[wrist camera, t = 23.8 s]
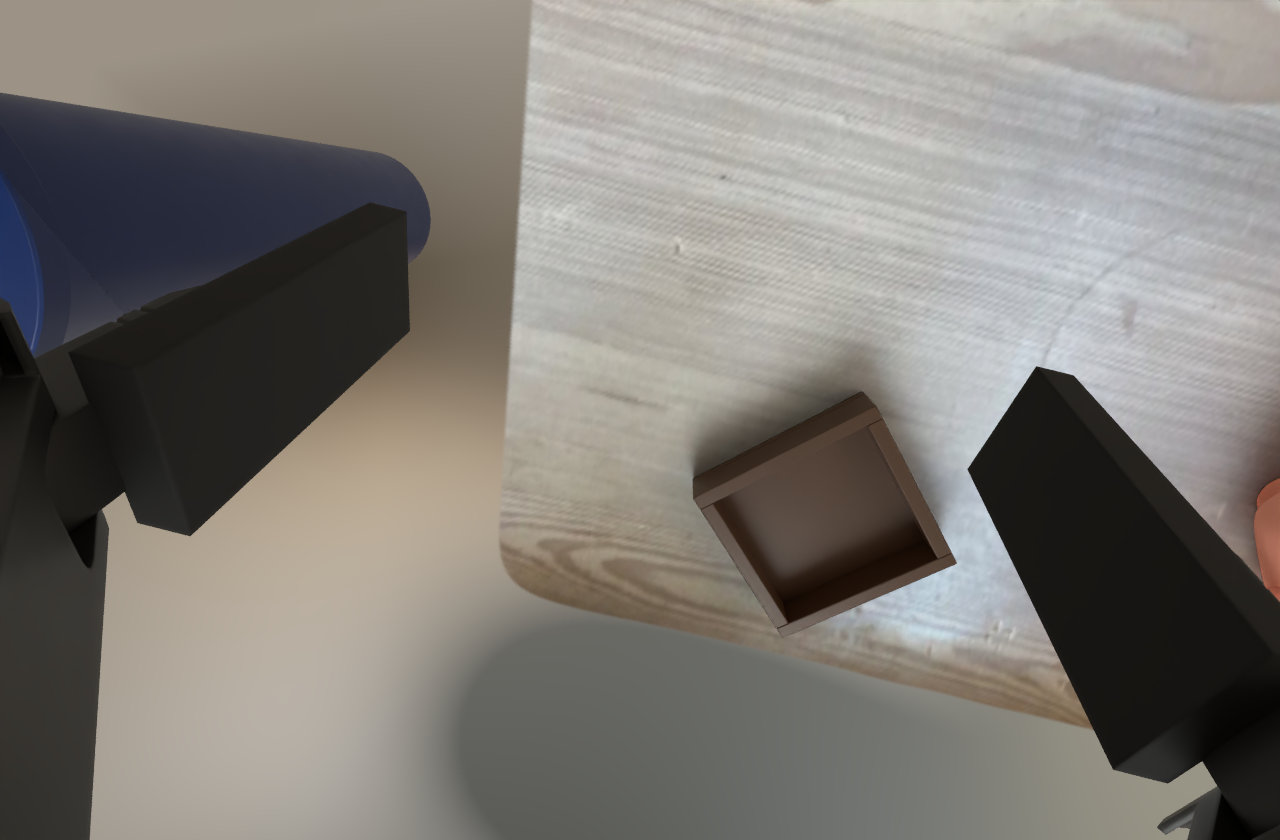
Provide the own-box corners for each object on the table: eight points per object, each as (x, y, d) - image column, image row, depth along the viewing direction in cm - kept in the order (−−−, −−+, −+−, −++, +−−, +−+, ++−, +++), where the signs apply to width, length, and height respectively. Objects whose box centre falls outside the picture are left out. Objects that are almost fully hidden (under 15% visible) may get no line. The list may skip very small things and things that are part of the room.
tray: (692, 478, 35) (692, 498, 33) (862, 390, 33) (876, 405, 30) (776, 611, 38) (782, 638, 36) (939, 540, 35) (957, 564, 33)
